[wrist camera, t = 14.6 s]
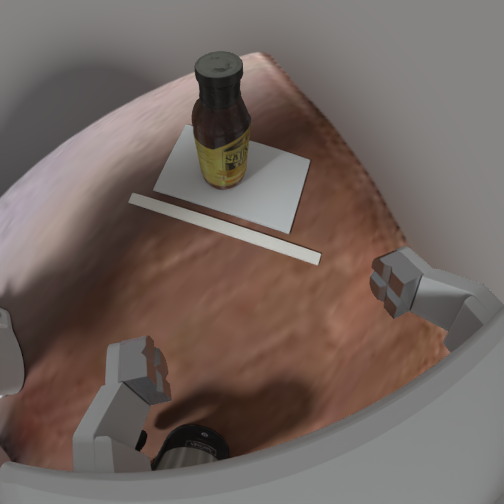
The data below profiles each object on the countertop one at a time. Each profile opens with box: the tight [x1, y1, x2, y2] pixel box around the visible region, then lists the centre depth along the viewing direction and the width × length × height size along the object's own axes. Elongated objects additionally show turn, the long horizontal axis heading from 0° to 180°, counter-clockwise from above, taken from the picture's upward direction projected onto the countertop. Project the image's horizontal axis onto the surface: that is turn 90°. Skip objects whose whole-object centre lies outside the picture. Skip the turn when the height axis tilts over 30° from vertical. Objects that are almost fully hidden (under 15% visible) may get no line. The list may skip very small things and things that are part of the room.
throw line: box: [128, 193, 321, 265], centre depth 37 cm, size 28×2×1 cm, turn 72°
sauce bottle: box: [192, 51, 251, 190], centre depth 28 cm, size 6×6×20 cm
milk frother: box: [135, 425, 229, 471], centre depth 23 cm, size 14×16×15 cm
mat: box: [153, 124, 310, 234], centre depth 38 cm, size 20×12×1 cm, turn 72°
